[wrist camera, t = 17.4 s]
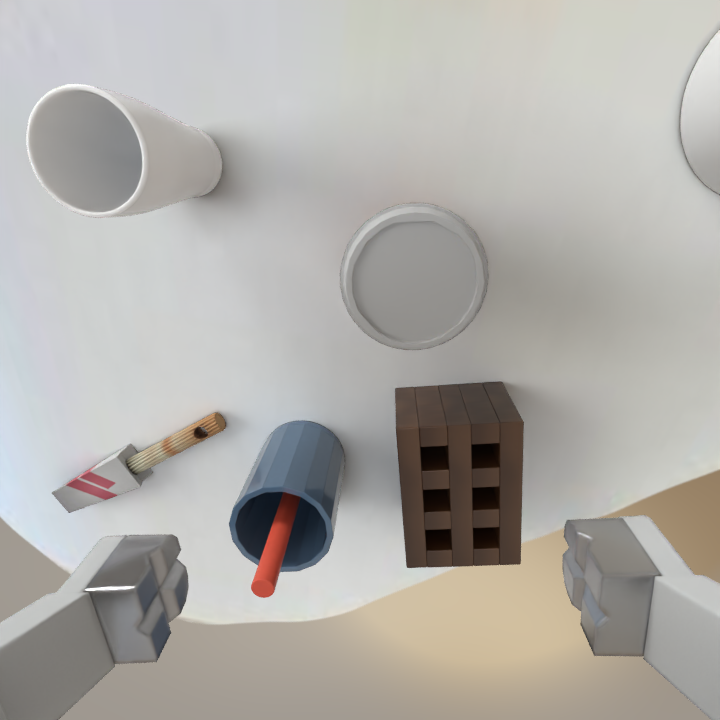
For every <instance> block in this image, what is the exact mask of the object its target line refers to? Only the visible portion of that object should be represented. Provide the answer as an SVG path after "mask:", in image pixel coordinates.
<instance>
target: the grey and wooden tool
mask: <svg viewBox="0 0 720 720" xmlns="http://www.w3.org/2000/svg"><path fill="white" fill-rule="evenodd" d="M199 426H200V427H204V429H205V430H207V432H208V433H205V432H202V430H201V429H200V427H199ZM225 427H226V425H225V422H224V419H223V417H222V416H221V415H220V414H219V413H213V414H212V415H210V416H208V417H206V418H204V419H202V420H200V421H198V422H197V423H195V424H193V425H191V426H189V427H187V428H185V429H183V430H182V431H180V432H178V433H176V434H174V435H172V436H170V437H169V438H167V439H165V440H163V441H161V442H159V443H157V444H155V445H154V446H152V447H150V448H148V449H146V450H144V451H142V452H140V453H137V451H136V450H135V449H134V448H133V446H132V445H131V444H129V445H128V446H126V447H124V448H123V449H121V450H120V451H118V452H116V453H115V454H113V455H112V456H110V457H108V458H107V459H105V460H104V461H102V462H100V463H99V464H97V465H96V466H94V467H92V468H91V469H89V470H87V471H86V472H84V473H83V474H81V475H79V476H78V477H76V478H75V479H73V480H71V481H70V482H68V483H67V484H65V485H63V486H62V487H60V488H59V489H57V490H55V491H54V492H52V494H53V495H54V496H55V497H56V499H57V500H58V501H59V502H60V503H61V504H62V505H63V507H64V508H65V509H66V510H67V511H68V512H69V513H71V512H73V511H76V510H79V509H82V508H84V507H87V506H90V505H93V504H95V503H98V502H101V501H104V500H106V499H109V498H112V497H115V496H117V495H120V494H123V493H126V492H128V491H131V490H134V489H137V488H139V487H141V485H142V481H143V480H145V479H146V478H147V477H148V476H149V475H151V474H152V473H153V472H152V470H151V469H150V467H152V466H154V465H156V464H158V463H160V462H162V461H164V460H166V459H168V458H170V457H172V456H174V455H176V454H178V453H180V452H182V451H184V450H186V449H187V448H189V447H191V446H193V445H195V444H197V443H199V442H201V441H203V440H205V439H207V438H209V437H211V436H213V435H215V434H217V433H219V432H221V431H223V430H224V429H225Z"/></svg>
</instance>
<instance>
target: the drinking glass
mask: <svg viewBox="0 0 720 720" xmlns="http://www.w3.org/2000/svg"><path fill="white" fill-rule="evenodd" d="M26 144H27V152H28V156H29V160H30V163H31V166H32V168H33V171H34V173H35V175H36V177H37V178H38V180H39V182H40V183H41V185H42V186H43V187H44V189H45V190H46V191H47V192H48V193H49V194H50V196H51V197H53V198H54V199H55V200H56V201H57V202H58V203H60V204H61V205H62V206H64V207H65V208H67V209H69V210H71V211H73V212H75V213H77V214H80V215H83V216H88V217H94V218H104V217H123V216H132V215H138V214H143V213H147V212H150V211H154V210H157V209H160V208H163V207H165V206H168V205H171V204H174V203H177V202H180V201H183V200H186V199H189V198H195V197H200V196H203V195H206V194H208V193H209V192H211V191H212V190H213V189H214V188H215V187H216V185H217V184H218V182H219V180H220V177H221V174H222V158H221V154H220V151H219V149H218V147H217V145H216V144H215V142H214V141H213V140H212V139H211V137H210V136H208V135H207V134H206V133H205V132H203V131H202V130H200V129H198V128H195V127H192V126H188V125H186V124H184V123H182V122H180V121H178V120H176V119H175V118H173V117H171V116H169V115H167V114H165V113H163V112H161V111H159V110H157V109H155V108H154V107H152V106H150V105H148V104H146V103H144V102H141V101H139V100H137V99H135V98H132V97H129V96H127V95H124V94H121V93H118V92H114V91H111V90H107V89H102V88H98V87H93V86H89V85H84V84H68V85H63V86H60V87H57V88H55V89H53V90H51V91H49V92H48V93H46V94H45V95H44V96H43V97H42V98H41V99H40V100H39V101H38V102H37V104H36V105H35V107H34V109H33V110H32V112H31V115H30V117H29V121H28V125H27V132H26Z"/></svg>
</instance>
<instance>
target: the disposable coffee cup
mask: <svg viewBox="0 0 720 720" xmlns="http://www.w3.org/2000/svg"><path fill="white" fill-rule="evenodd" d="M487 285H488V262H487V259H486V255H485V252H484V248H483V246H482V244H481V242H480V240H479V239H478V237H477V235H476V233H475V232H474V231H473V230H472V228H471V227H470V226H469V225H468V224H467V223H466V222H465V221H464V220H463V219H461V218H460V217H459V216H457V215H456V214H454V213H453V212H451V211H449V210H447V209H445V208H442V207H439V206H436V205H431V204H426V203H407V204H401V205H396V206H393V207H390V208H387V209H385V210H383V211H381V212H379V213H377V214H376V215H374V216H373V217H372V218H370V219H369V220H367V221H366V222H365V223H364V224H363V225H362V226H361V227H360V228H359V229H358V230H357V232H356V233H355V234H354V236H353V237H352V239H351V241H350V242H349V244H348V245H347V248H346V251H345V254H344V256H343V259H342V264H341V270H340V288H341V293H342V297H343V301H344V304H345V306H346V308H347V310H348V313H349V314H350V316H351V317H352V319H353V320H354V322H355V323H356V324H357V325H358V326H359V327H360V329H361V330H362V331H363V332H365V333H366V334H367V335H368V336H370V337H371V338H373V339H374V340H376V341H378V342H379V343H382V344H384V345H387V346H389V347H393V348H397V349H403V350H421V349H427V348H432V347H434V346H437V345H440V344H443V343H445V342H447V341H449V340H451V339H452V338H454V337H455V336H457V335H458V334H459V333H461V332H462V331H463V330H464V329H465V328H466V327H467V326H468V325H469V324H470V323H471V322H472V321H473V319H474V318H475V316H476V314H477V313H478V311H479V310H480V308H481V305H482V303H483V300H484V297H485V295H486V292H487Z"/></svg>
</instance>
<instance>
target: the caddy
mask: <svg viewBox="0 0 720 720" xmlns="http://www.w3.org/2000/svg"><path fill="white" fill-rule="evenodd" d="M395 403H396V435H397V448H398V461H399V474H400V487H401V500H402V513H403V526H404V539H405V552H406V565H407V568H417V567H452V566H453V567H455V566H473V565H474V566H480V565H481V566H482V565H499V564H500V565H509V564H520V562H521V517H522V471H523V425H524V422H523V420H522V418H521V416H520V415H519V413H518V411H517V409H516V407H515V405H514V404H513V402H512V400H511V398H510V396H509V394H508V393H507V391H506V389H505V387H504V385H503V384H502V382H489V383H472V384H455V385H439V386H425V387H415V388H414V387H409V388H396V389H395Z"/></svg>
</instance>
